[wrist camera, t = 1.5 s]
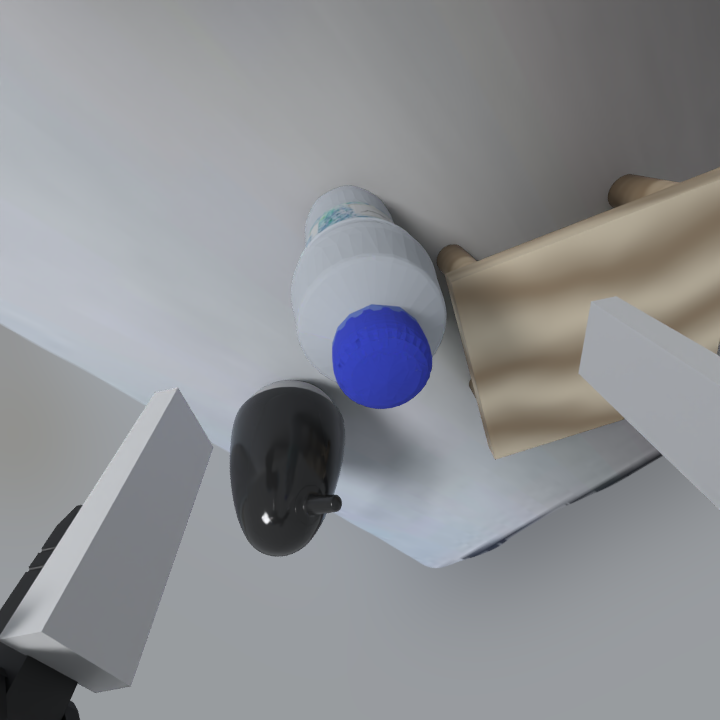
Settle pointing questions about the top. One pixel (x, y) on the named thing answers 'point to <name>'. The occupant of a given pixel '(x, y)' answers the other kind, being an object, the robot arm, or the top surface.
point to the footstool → (582, 303)
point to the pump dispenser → (285, 465)
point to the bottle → (366, 300)
